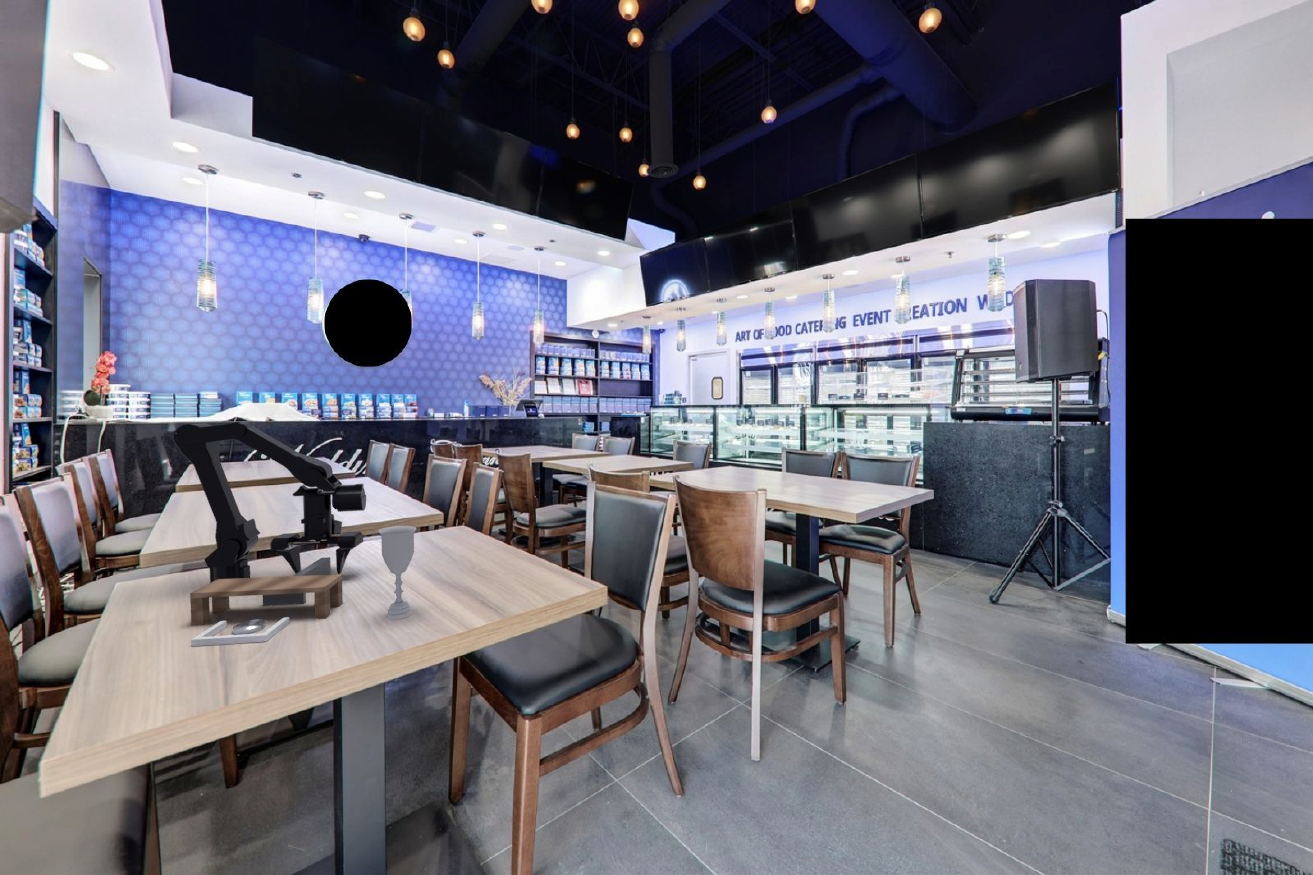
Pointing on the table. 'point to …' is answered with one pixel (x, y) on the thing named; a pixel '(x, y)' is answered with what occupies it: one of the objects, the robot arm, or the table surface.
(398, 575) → the chalice
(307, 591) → the walnut bench
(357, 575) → the table surface
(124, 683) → the table surface
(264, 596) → the grey wedge block
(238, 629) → the disc
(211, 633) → the frame
